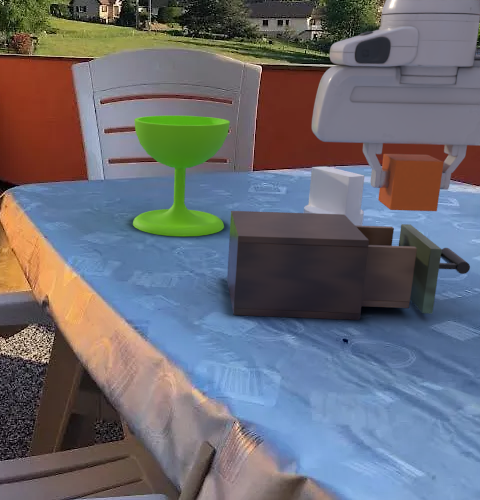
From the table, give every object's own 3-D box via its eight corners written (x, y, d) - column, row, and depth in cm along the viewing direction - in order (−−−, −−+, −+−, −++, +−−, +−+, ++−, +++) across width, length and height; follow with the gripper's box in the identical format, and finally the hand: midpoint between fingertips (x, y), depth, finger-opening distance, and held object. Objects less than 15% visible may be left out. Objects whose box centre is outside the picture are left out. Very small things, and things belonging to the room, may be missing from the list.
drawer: (438, 283, 93) (447, 225, 90) (472, 315, 82) (483, 250, 79) (299, 278, 94) (304, 220, 91) (314, 309, 83) (320, 244, 80)
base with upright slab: (372, 251, 110) (381, 174, 107) (326, 257, 106) (334, 178, 103) (332, 236, 118) (340, 165, 114) (289, 242, 114) (295, 168, 110)
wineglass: (205, 241, 114) (211, 128, 108) (116, 228, 120) (117, 121, 115) (236, 220, 127) (242, 119, 122) (154, 210, 134) (157, 113, 129)
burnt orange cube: (422, 201, 75) (428, 154, 74) (437, 211, 71) (444, 161, 69) (377, 200, 75) (383, 153, 74) (390, 210, 71) (396, 160, 69)
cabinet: (337, 284, 94) (344, 214, 91) (360, 320, 82) (369, 240, 79) (226, 280, 95) (230, 210, 92) (233, 315, 83) (238, 235, 80)
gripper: (521, 48, 71) (499, 184, 75) (314, 45, 72) (303, 179, 76) (552, 49, 65) (527, 196, 69) (327, 45, 66) (314, 191, 70)
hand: (408, 187), depth 72 cm, fingers closed on burnt orange cube, 4 cm apart
